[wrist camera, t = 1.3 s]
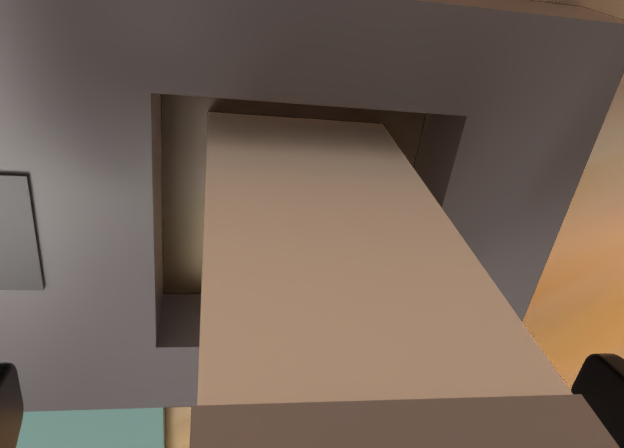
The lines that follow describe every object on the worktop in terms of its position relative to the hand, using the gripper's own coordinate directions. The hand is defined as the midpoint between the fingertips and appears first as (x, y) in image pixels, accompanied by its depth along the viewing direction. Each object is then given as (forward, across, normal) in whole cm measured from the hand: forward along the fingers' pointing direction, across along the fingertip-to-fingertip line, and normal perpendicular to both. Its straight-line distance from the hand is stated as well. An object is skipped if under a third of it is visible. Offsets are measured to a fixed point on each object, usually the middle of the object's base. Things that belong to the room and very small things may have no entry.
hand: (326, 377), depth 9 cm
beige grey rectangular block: (+6, 0, 0) cm, 6 cm away
